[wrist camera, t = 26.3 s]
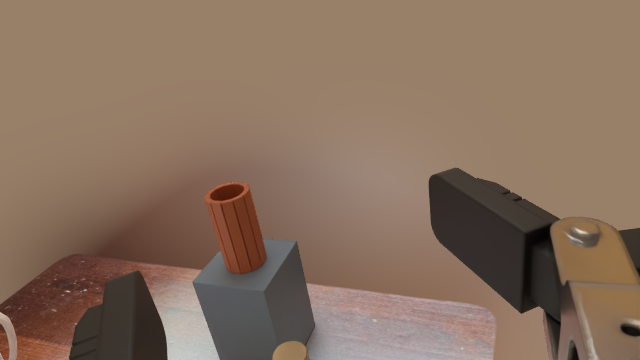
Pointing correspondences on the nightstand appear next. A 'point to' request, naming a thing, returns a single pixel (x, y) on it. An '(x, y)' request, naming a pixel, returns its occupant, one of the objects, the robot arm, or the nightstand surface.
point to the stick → (291, 351)
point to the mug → (9, 336)
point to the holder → (251, 282)
